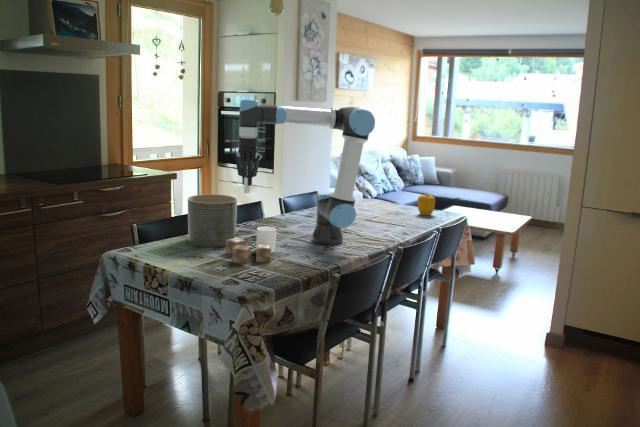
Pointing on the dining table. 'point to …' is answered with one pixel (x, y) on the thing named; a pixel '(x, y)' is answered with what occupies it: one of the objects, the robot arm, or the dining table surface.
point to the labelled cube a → (233, 244)
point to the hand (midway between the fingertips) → (246, 192)
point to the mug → (266, 237)
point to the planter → (211, 219)
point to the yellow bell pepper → (426, 204)
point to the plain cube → (241, 254)
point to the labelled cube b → (263, 253)
